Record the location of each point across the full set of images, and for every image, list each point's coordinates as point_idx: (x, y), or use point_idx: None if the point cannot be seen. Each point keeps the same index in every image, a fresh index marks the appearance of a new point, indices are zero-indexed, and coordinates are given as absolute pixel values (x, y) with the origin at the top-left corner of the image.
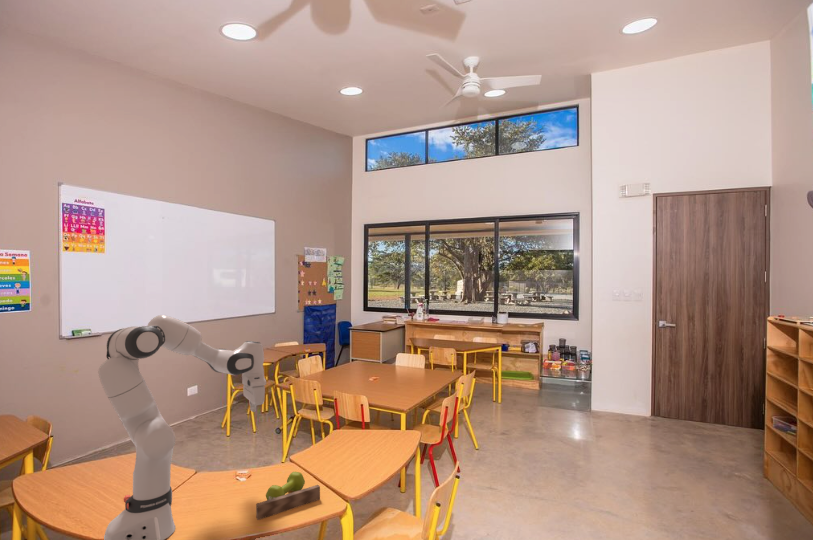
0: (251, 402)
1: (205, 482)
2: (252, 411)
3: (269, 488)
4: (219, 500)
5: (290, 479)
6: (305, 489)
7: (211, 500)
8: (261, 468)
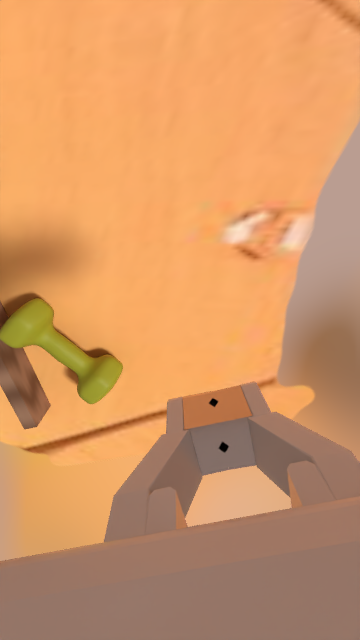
0: (166, 514)
1: (274, 97)
2: (169, 404)
3: (14, 315)
4: (113, 158)
5: (88, 370)
6: (16, 398)
7: (122, 130)
8: (287, 290)
